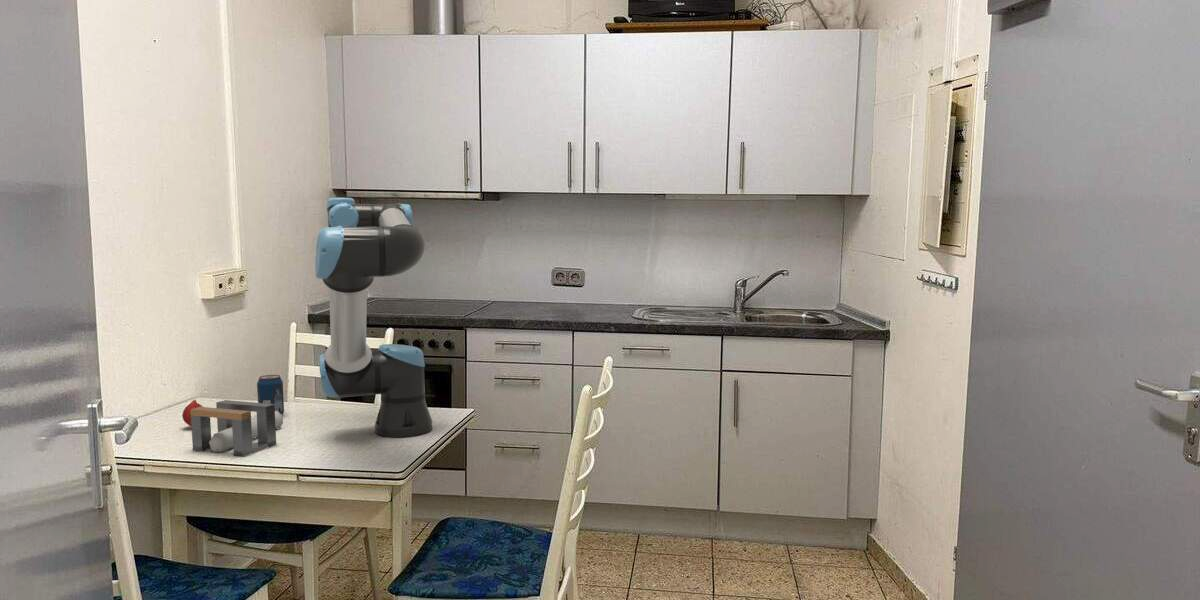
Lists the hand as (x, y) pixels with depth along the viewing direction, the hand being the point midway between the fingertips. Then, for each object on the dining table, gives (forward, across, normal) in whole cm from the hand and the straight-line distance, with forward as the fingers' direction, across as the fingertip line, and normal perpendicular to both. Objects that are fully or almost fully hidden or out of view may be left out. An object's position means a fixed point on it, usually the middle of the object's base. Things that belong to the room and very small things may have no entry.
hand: (346, 334), depth 228 cm
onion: (+25, +24, -33) cm, 48 cm away
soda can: (+25, +7, -22) cm, 34 cm away
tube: (+25, +29, -10) cm, 40 cm away
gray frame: (+24, +36, -7) cm, 44 cm away
